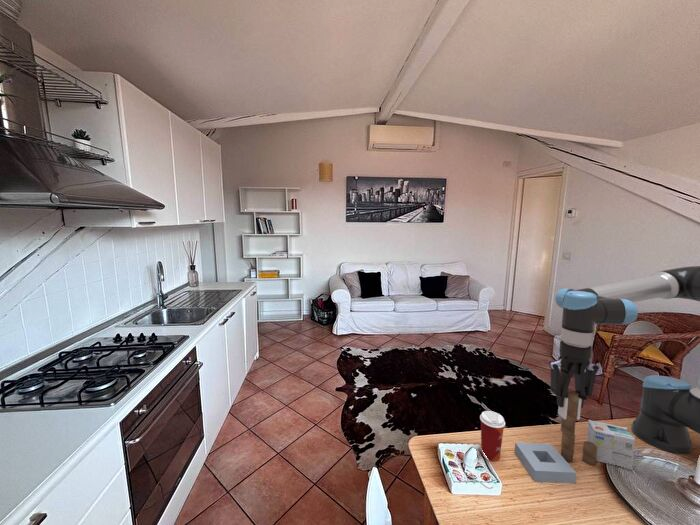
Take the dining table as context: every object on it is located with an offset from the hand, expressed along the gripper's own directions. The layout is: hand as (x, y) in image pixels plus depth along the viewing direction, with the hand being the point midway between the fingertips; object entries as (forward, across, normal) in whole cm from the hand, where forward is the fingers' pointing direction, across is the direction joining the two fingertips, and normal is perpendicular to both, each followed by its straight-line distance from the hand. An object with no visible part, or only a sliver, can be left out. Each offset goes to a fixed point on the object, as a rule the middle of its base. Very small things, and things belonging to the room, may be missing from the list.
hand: (568, 416), depth 90 cm
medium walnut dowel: (+19, -6, -6) cm, 21 cm away
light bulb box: (+19, -20, -7) cm, 28 cm away
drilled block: (+19, +4, -3) cm, 20 cm away
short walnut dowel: (+19, -12, -5) cm, 23 cm away
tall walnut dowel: (+5, 0, 0) cm, 5 cm away
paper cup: (+20, +20, -7) cm, 29 cm away
